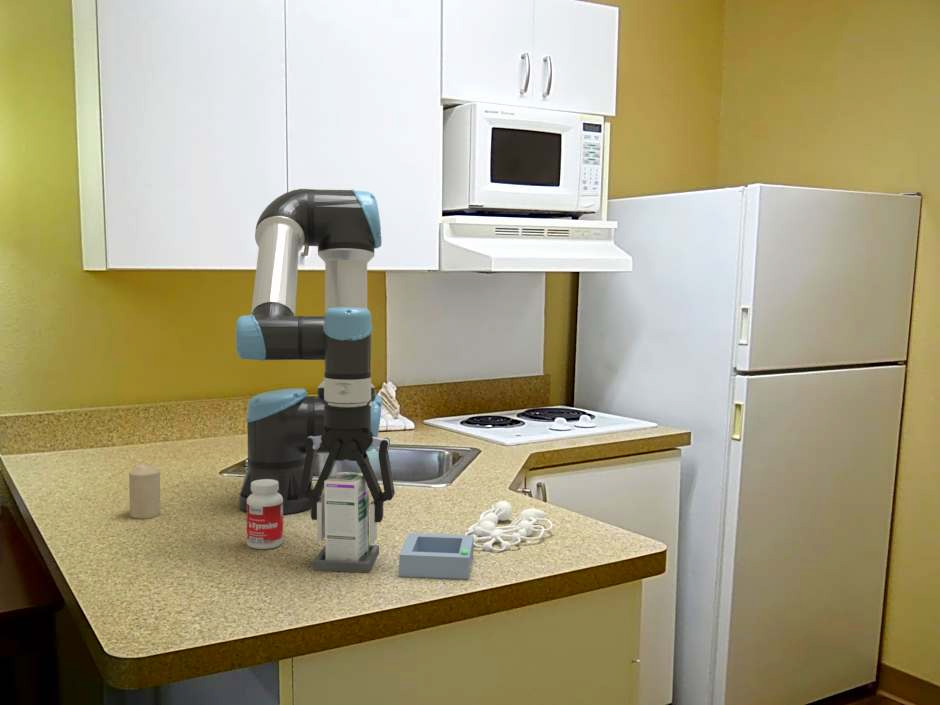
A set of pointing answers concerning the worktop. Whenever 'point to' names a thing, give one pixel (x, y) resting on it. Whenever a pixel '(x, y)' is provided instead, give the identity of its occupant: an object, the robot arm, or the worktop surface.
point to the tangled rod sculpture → (504, 512)
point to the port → (436, 556)
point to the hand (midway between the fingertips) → (347, 539)
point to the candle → (144, 491)
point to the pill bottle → (264, 515)
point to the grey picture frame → (346, 562)
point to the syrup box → (346, 517)
